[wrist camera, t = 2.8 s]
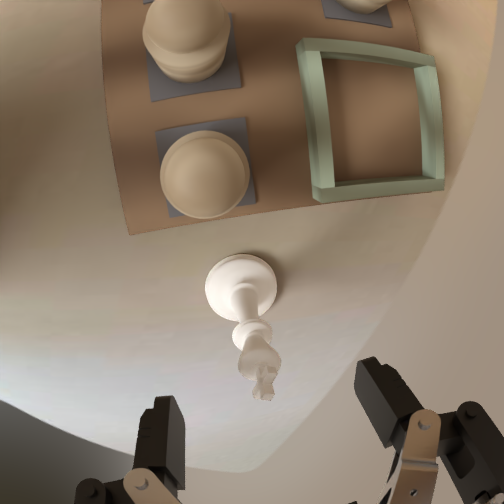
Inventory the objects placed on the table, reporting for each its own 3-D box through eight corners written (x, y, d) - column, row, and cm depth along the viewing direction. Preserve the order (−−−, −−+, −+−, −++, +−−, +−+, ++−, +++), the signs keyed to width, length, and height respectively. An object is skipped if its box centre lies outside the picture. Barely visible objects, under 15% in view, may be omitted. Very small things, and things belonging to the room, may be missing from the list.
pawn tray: (111, -29, 11) (73, -93, 3) (380, -33, 13) (441, -75, 5) (136, 225, 18) (90, 287, 10) (415, 187, 20) (499, 217, 12)
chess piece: (196, 307, 21) (195, 422, 11) (217, 244, 19) (228, 342, 10) (261, 323, 22) (294, 431, 12) (286, 265, 20) (345, 361, 11)
